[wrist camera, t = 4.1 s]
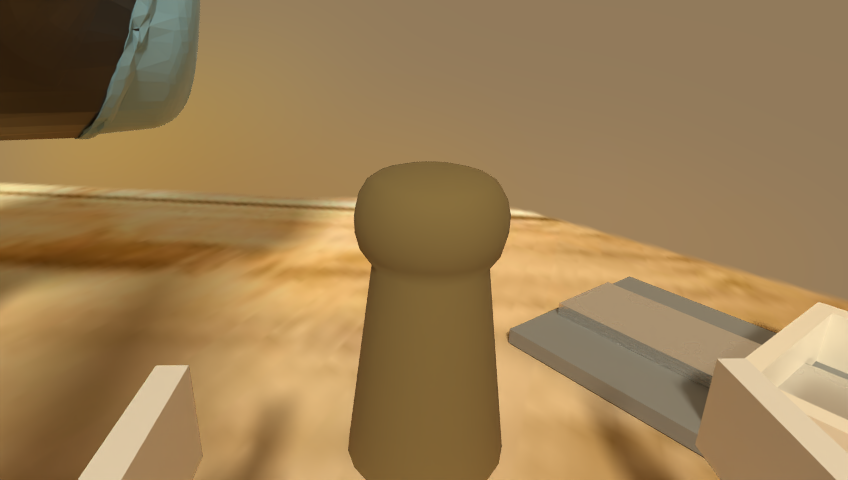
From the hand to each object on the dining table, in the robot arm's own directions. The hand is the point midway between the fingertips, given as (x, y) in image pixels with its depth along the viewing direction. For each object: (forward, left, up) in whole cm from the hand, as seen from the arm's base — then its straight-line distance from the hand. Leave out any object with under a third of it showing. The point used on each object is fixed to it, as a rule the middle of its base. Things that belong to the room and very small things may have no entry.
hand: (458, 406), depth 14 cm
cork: (-5, +3, -7) cm, 9 cm away
